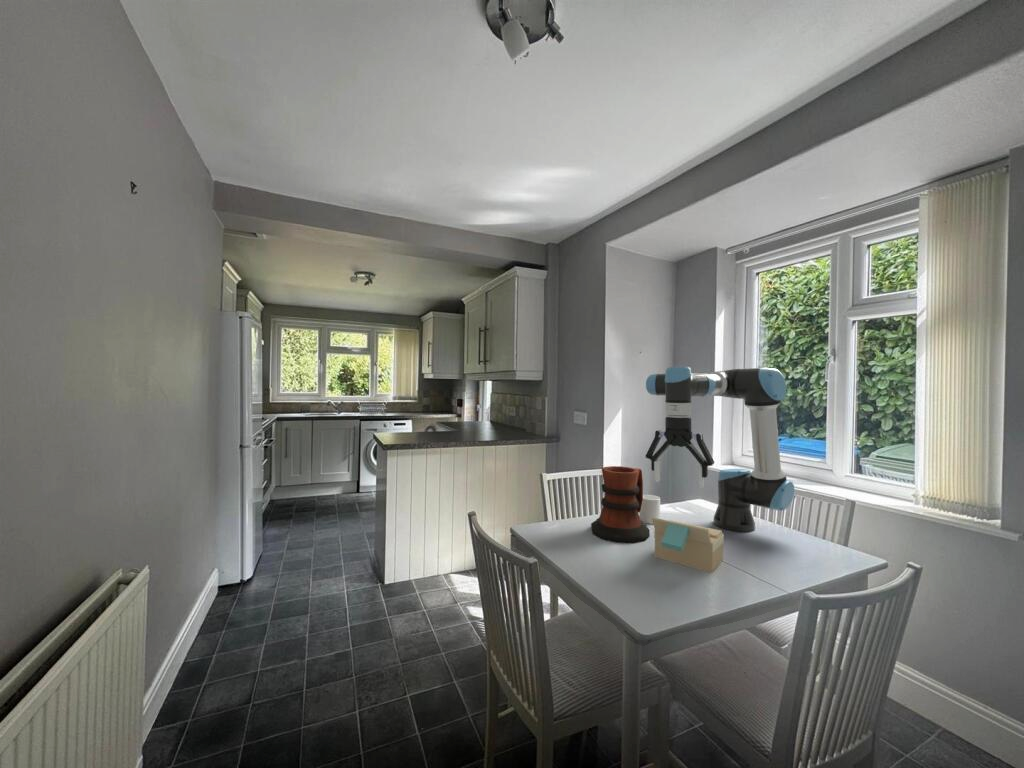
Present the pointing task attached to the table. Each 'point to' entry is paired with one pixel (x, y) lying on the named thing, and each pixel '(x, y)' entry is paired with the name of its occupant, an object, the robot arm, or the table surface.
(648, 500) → the cup
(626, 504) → the tankard
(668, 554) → the carton
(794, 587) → the table surface
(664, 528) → the flap
